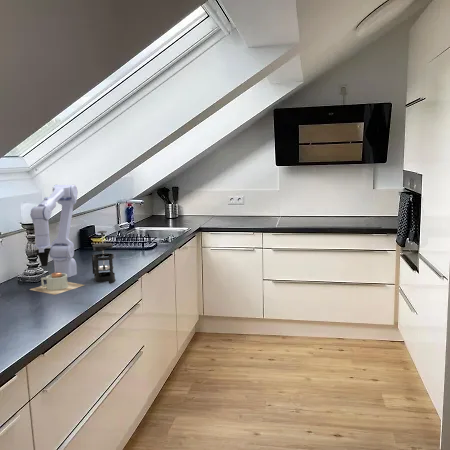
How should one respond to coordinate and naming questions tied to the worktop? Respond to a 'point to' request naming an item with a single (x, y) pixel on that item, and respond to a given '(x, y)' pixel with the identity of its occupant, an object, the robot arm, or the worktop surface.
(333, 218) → the worktop surface
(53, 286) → the faceted mug
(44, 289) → the serving board
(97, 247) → the french press
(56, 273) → the plunger
